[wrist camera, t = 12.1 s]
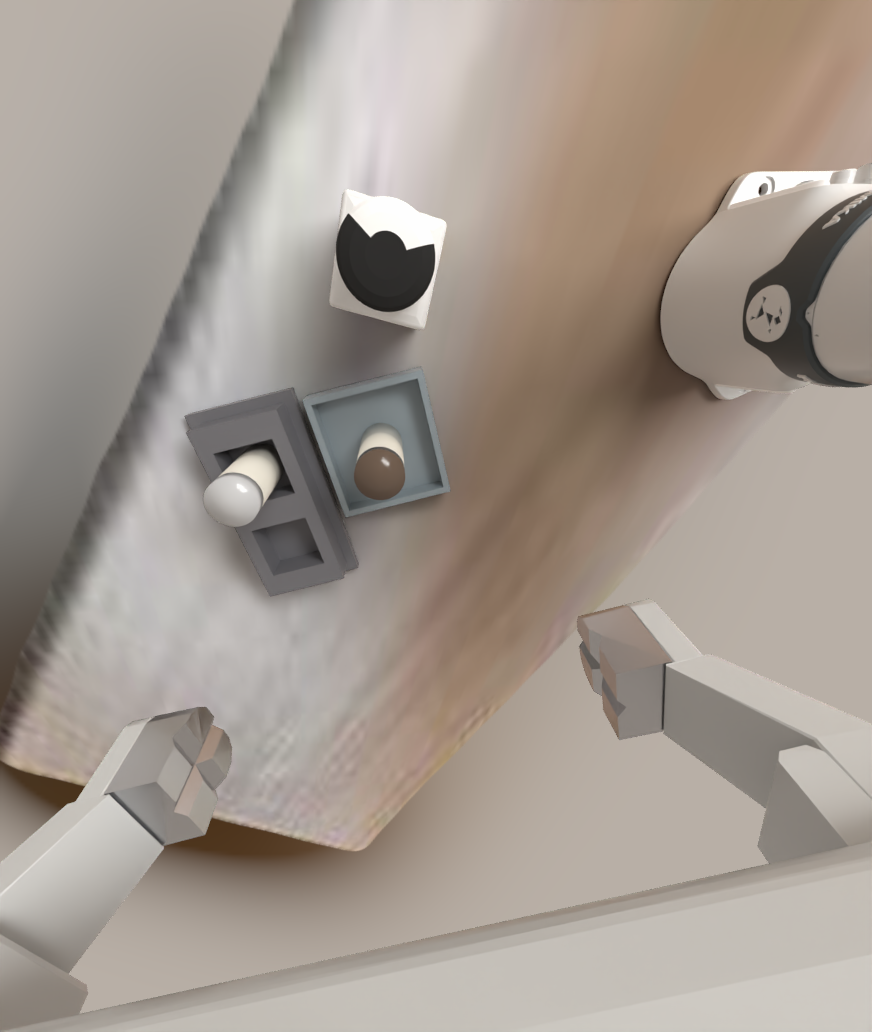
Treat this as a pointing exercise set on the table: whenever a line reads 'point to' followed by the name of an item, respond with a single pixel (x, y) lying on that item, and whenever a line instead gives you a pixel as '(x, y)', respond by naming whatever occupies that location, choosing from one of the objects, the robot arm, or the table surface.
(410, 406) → the parts tray
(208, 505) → the dome-capped cream cylinder
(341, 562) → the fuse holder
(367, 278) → the medicine bottle
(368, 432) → the cylinder
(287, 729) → the table surface
